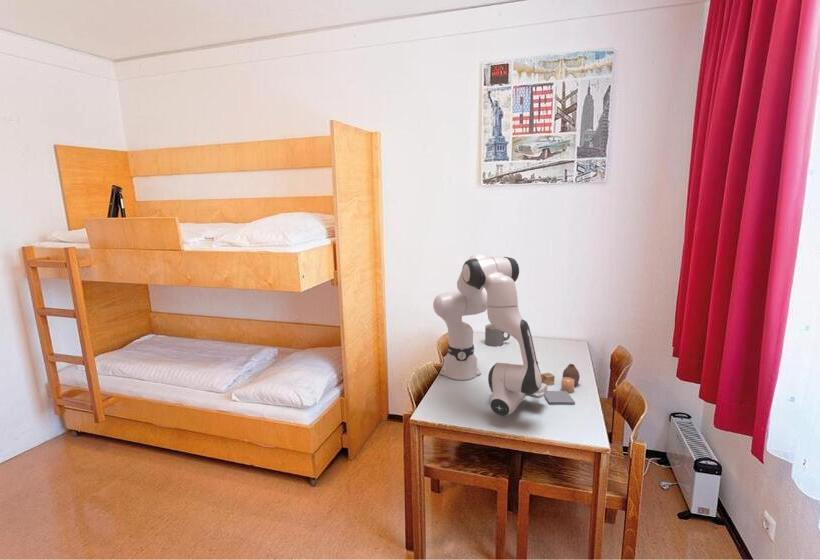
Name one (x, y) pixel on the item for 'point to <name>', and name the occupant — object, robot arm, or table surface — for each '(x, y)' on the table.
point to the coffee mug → (494, 336)
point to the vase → (572, 373)
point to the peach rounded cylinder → (567, 384)
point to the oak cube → (547, 378)
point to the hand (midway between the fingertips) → (526, 378)
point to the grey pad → (559, 398)
